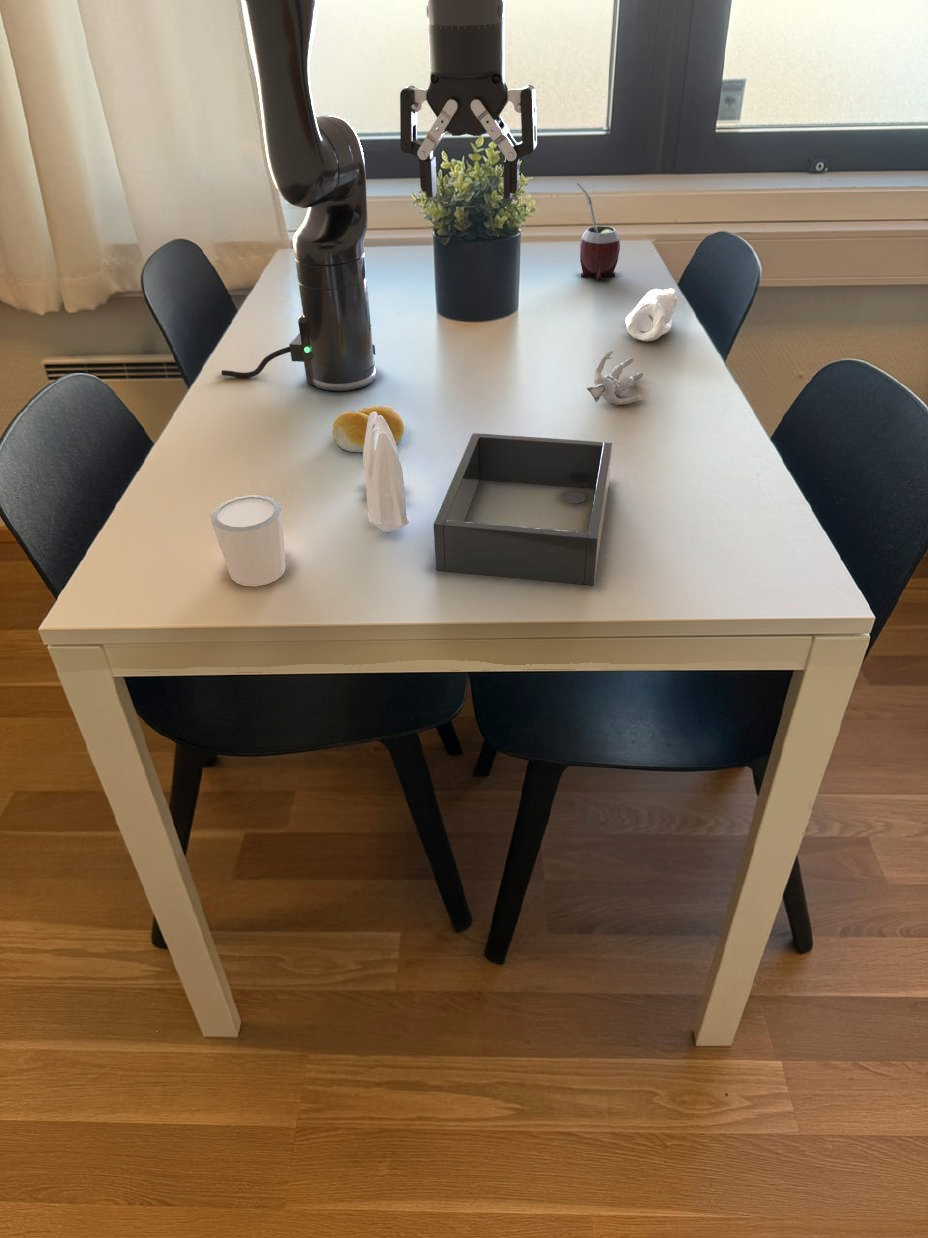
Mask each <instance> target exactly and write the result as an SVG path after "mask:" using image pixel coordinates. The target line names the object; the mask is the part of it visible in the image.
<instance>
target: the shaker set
mask: <svg viewBox="0 0 928 1238" xmlns="http://www.w3.org/2000/svg"><path fill="white" fill-rule="evenodd" d="M400 460H401V459H400V455H399V448H398V445H397V443H396V442H395V440H394V437H393V435H392V433H391V431H390V428H389V426H388V424H387V423H386V421H385V419H384V418H383V417H382V416H381V415H379V416H378V415H377V413H376V412H372V413H370V415H369V418H368V423H367V429H366V436H365V442H364V450H363V452H362V463H363V473H364V484H365V485H364V487H365V495H366V504H367V514H368V515H367V516H368V517H367V520H368V521H369V523H370V524H371V525H372V526H374V527H376V528H377V529H379V530H381V531H383V532H385V533H391V532H395V531H398V530H400V529H402V528H404V527H405V526H407V525H408V524H409V520H408V516H407V515H408V514H407V504H406V503H407V502H406V492H405V491H406V490H405V481H404V473H403V467H402V463H401V461H400Z"/></svg>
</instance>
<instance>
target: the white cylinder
mask: <svg viewBox="0 0 928 1238" xmlns="http://www.w3.org/2000/svg"><path fill="white" fill-rule="evenodd" d="M210 521H211V525H212V528H213V530H214V533H215V537H216V539H217V542H218V544H219V548H220V550H221V553H222V556H223V559H224V562H225V564H226V568H227V570H228V573H229V577H230V579H231V580H233V581H234V583H235V584H237V585H241V586H243V587H255V588H257V587H261V586H266V585H269V584H272V583H273V582H276V581H278V580H279V579H280V578H281V577H282V576H283V575H284V574H285V571H286V569H287V567H286V552H285V538H284V537H285V536H284V525H283V524H284V523H283V511H282V507H281V503H280V502H279V501H277V500H276V499H275V498H272V497H269V496H266V495H259V494H258V495H256V494H254V495H253V494H248V495H243V496H237V497H233V498H231V499H228V500H226V501H223V502H222V503H220V504H219V505H218V506H216V507H214V510H213V511H212V513H211V514H210Z"/></svg>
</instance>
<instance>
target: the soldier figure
mask: <svg viewBox="0 0 928 1238" xmlns="http://www.w3.org/2000/svg"><path fill="white" fill-rule="evenodd" d="M612 354H614V352H613V351H612V350H610V351H608V352H606V353H605V354H604V356H603V357H602V358H601V359H600V361H599V362H598V364H597V366H596V368H595V369H594V380H593V383H594V386H588V387H586V390H587V391H588V392H589V393H590V395H591V396H592V398H593V400H594V402H595V404H598V402H599V401H600V399H601V397H602V398H603V399H604V400H605V401H606V402H608V403H610V404H614V405H615V406H625V405H628V404H632V403H638V402H639V401H641V400H643V399H642V396H641V395H640V394H639V395H638V394H637V395H635V396H632V397H625V398H618V397H617V395H619V394H621V393H623V392H625V391H627V390H628V389H629V388H633V387H635V384H636V381H639V380H641V379H642V378H643V377H644V373H643V372H638V373H637V374H634V375H631V376H630V377H629V378H627V379H625V380H624V381H623V380H622V381H620V382H618V381H619V378H620V375H622V374H623V371H624V369H625V368H626V367H628V366H631V364H633V362H634V358H633V357H628V359H626V360H624V361H622V362H621V363H617V364H616V366H614V367H613V370H612V371H611V372H610V374H608V375H604V376H603V374H602V372H603V370H604V367H605V364H606V361H607V360H611V359H612V358H613V357H612Z"/></svg>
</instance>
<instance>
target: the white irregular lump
mask: <svg viewBox="0 0 928 1238" xmlns="http://www.w3.org/2000/svg"><path fill="white" fill-rule="evenodd" d="M678 300H679V299H678V293H677V291H676V290H675V289H674V288H672V287H671V288H668V289H660V288H655V289H651V290H649V291H647V293H646V294H645V295H644V296H643V297H642V298H641V299H640V301H639V302H637V304H636V306H635V307H634V309H633V310H632V311H631V312H630V313H628V315H626V317H625V319H624V323H625V326H626V328H625V329H626V330H627V332H628V334H629V335H630V336H631V337H632V338H633V339H635V340H638V341H642V342H646V343H647V342H653V341H656V340H658V339H659V338H660V337H661V336H663V335H666V334H667V333H669V332H670V331H671V329H672V325H673V321H672V319H673V314H674V312H675V309H676V307H677V303H678Z"/></svg>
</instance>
